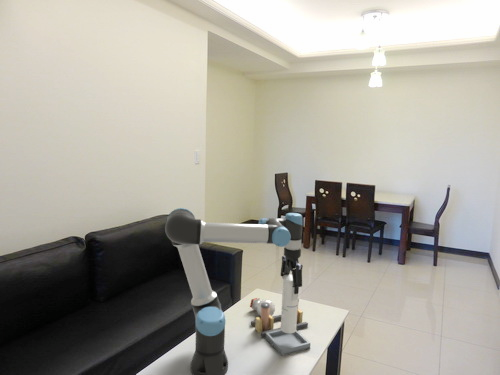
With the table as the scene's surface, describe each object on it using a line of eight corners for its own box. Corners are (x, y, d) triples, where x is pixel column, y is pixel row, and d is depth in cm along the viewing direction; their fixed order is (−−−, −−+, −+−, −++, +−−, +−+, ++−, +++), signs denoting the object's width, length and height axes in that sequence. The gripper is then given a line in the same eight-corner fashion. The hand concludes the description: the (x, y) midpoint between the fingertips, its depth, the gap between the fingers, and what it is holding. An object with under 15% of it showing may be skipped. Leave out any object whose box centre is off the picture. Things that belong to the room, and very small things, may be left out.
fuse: (262, 332, 169) (263, 307, 167) (258, 328, 173) (259, 303, 171) (270, 330, 171) (271, 305, 169) (266, 326, 174) (267, 301, 173)
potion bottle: (270, 324, 179) (253, 315, 191) (281, 309, 184) (263, 301, 196) (262, 312, 176) (244, 304, 187) (273, 298, 180) (255, 291, 192)
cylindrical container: (295, 334, 156) (298, 281, 152) (279, 332, 157) (282, 279, 154) (296, 326, 162) (299, 275, 159) (281, 324, 164) (284, 273, 161)
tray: (281, 355, 151) (281, 350, 150) (265, 337, 164) (265, 332, 164) (310, 348, 157) (310, 343, 157) (292, 331, 170) (292, 326, 170)
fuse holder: (262, 337, 164) (262, 325, 163) (250, 324, 175) (251, 313, 174) (307, 327, 175) (308, 315, 174) (294, 315, 186) (294, 304, 186)
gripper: (312, 253, 147) (309, 304, 150) (288, 240, 165) (285, 286, 168) (297, 255, 144) (295, 307, 147) (274, 242, 162) (272, 288, 165)
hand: (290, 296), depth 158 cm, fingers closed on cylindrical container, 7 cm apart
